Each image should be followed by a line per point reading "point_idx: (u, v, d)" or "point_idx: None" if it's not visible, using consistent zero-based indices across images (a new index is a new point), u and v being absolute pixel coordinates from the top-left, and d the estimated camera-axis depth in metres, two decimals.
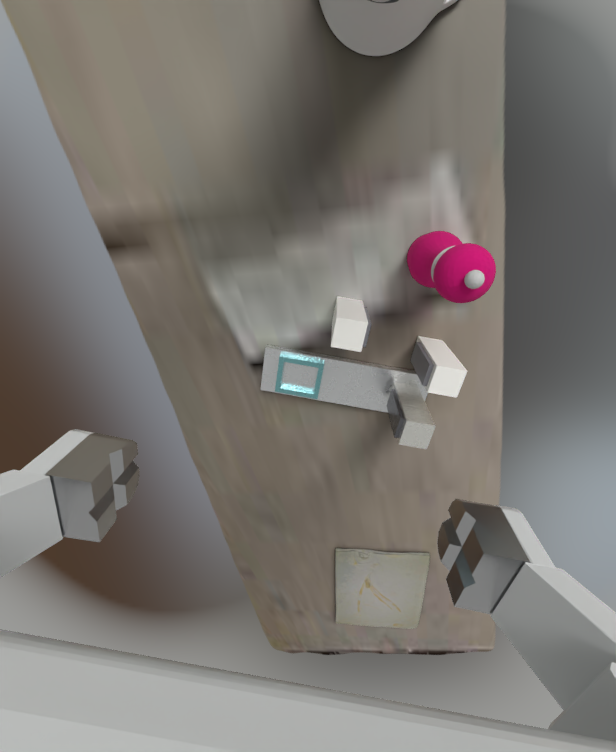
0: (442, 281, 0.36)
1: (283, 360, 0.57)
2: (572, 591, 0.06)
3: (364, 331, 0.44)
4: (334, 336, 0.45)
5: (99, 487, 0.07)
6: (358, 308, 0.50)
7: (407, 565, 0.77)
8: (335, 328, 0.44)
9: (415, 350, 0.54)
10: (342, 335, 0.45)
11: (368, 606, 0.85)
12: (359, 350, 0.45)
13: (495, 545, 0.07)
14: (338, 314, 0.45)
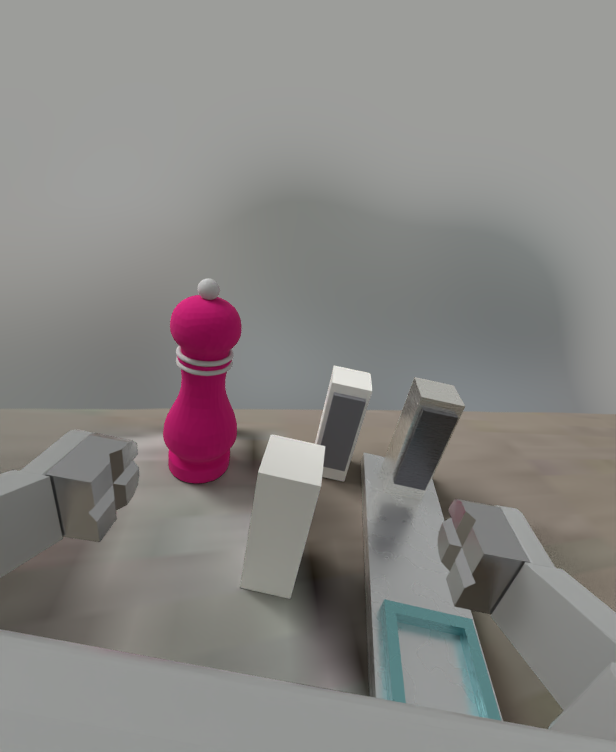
0: (208, 320, 0.28)
1: None
2: (572, 591, 0.06)
3: (286, 439, 0.25)
4: (298, 478, 0.22)
5: (99, 487, 0.07)
6: None
7: None
8: (281, 476, 0.22)
9: (327, 459, 0.38)
10: (295, 466, 0.23)
11: None
12: (322, 447, 0.25)
13: (495, 545, 0.07)
14: (256, 485, 0.23)
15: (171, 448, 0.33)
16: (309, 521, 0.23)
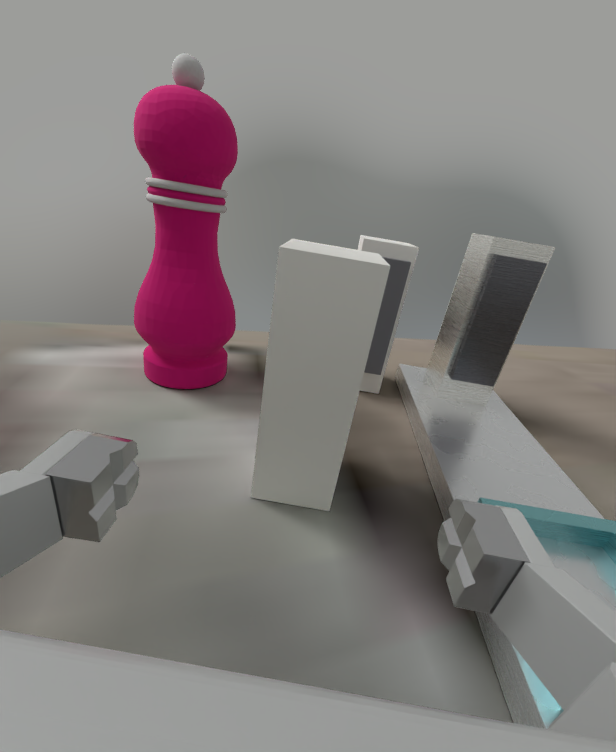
0: (188, 104, 0.19)
1: None
2: (572, 591, 0.06)
3: (317, 243, 0.16)
4: (349, 258, 0.13)
5: (99, 487, 0.07)
6: None
7: None
8: (320, 253, 0.13)
9: None
10: (340, 253, 0.14)
11: None
12: (375, 253, 0.16)
13: (495, 545, 0.07)
14: None
15: (144, 332, 0.24)
16: (366, 349, 0.14)
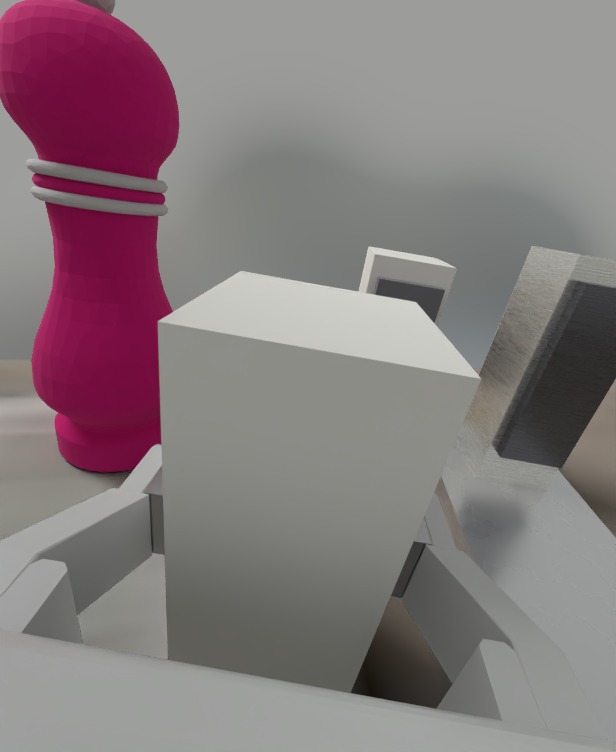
0: (73, 25, 0.11)
1: None
2: (466, 572, 0.06)
3: (291, 281, 0.08)
4: (361, 351, 0.04)
5: None
6: None
7: None
8: (278, 339, 0.04)
9: None
10: (337, 323, 0.05)
11: None
12: (410, 303, 0.08)
13: None
14: None
15: (42, 396, 0.16)
16: (399, 555, 0.06)
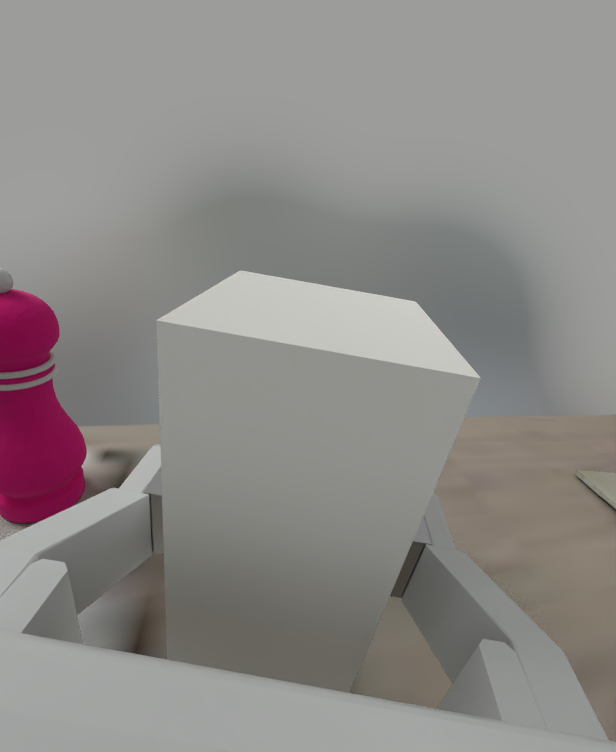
0: None
1: None
2: (465, 572, 0.06)
3: (291, 281, 0.08)
4: (360, 350, 0.04)
5: None
6: None
7: None
8: (277, 338, 0.04)
9: None
10: (337, 322, 0.05)
11: None
12: (409, 302, 0.08)
13: None
14: None
15: None
16: (398, 554, 0.06)
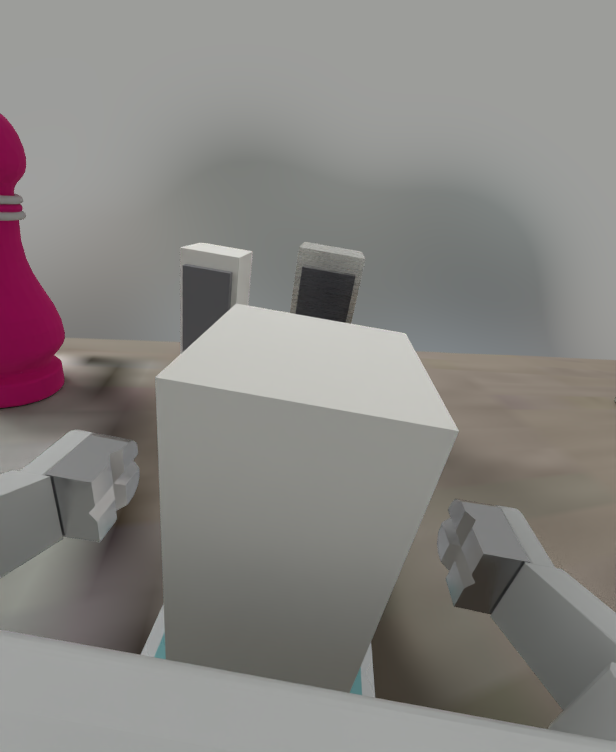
0: None
1: None
2: (572, 591, 0.06)
3: (285, 314, 0.08)
4: (347, 403, 0.05)
5: (99, 487, 0.07)
6: None
7: None
8: (269, 392, 0.05)
9: None
10: (327, 368, 0.06)
11: None
12: (399, 335, 0.08)
13: (495, 545, 0.07)
14: None
15: None
16: (386, 586, 0.06)
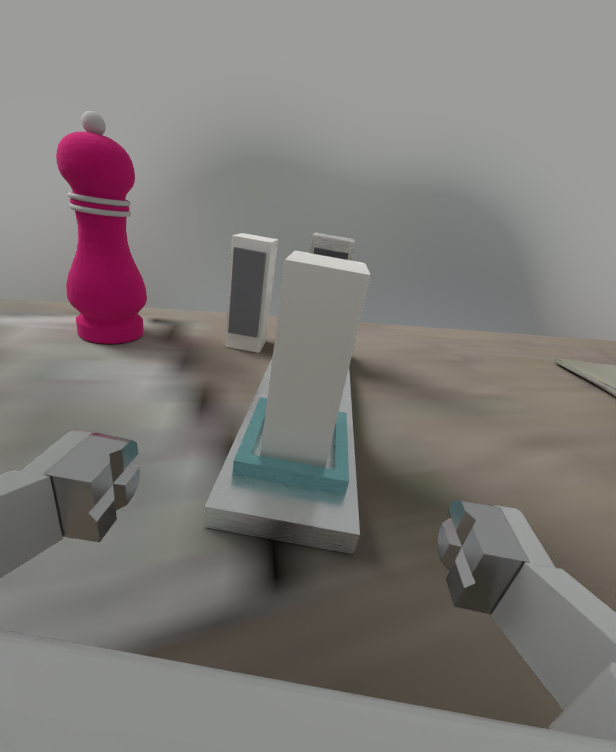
0: (89, 145, 0.29)
1: (249, 455, 0.20)
2: (572, 591, 0.06)
3: (315, 254, 0.20)
4: (339, 268, 0.16)
5: (99, 487, 0.07)
6: None
7: (599, 372, 0.51)
8: (316, 265, 0.16)
9: (238, 325, 0.38)
10: (333, 264, 0.17)
11: None
12: (361, 263, 0.20)
13: (495, 545, 0.07)
14: None
15: (72, 300, 0.34)
16: (352, 339, 0.18)
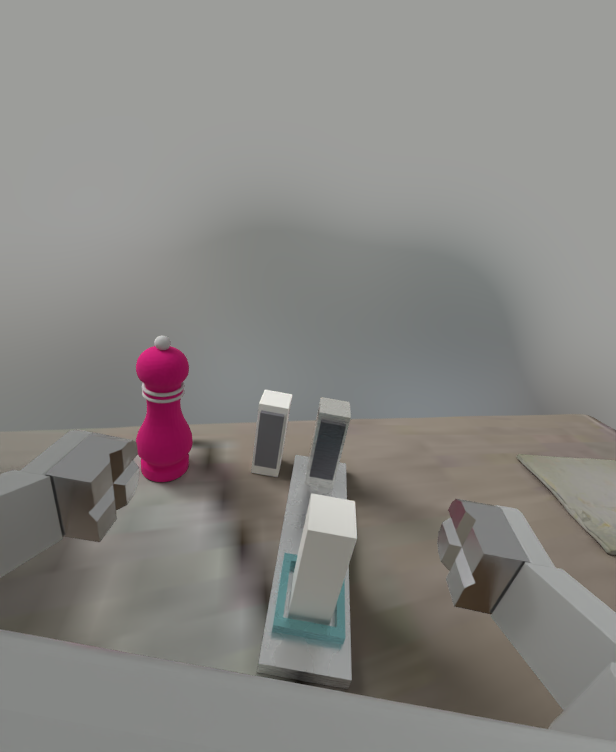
0: (161, 365, 0.40)
1: (282, 617, 0.32)
2: (572, 591, 0.06)
3: (324, 497, 0.31)
4: (339, 533, 0.28)
5: (99, 487, 0.07)
6: (299, 550, 0.34)
7: (550, 471, 0.63)
8: (325, 531, 0.28)
9: (262, 460, 0.50)
10: (335, 522, 0.29)
11: None
12: (352, 502, 0.31)
13: (495, 545, 0.07)
14: (305, 539, 0.29)
15: (141, 456, 0.45)
16: (347, 564, 0.29)
